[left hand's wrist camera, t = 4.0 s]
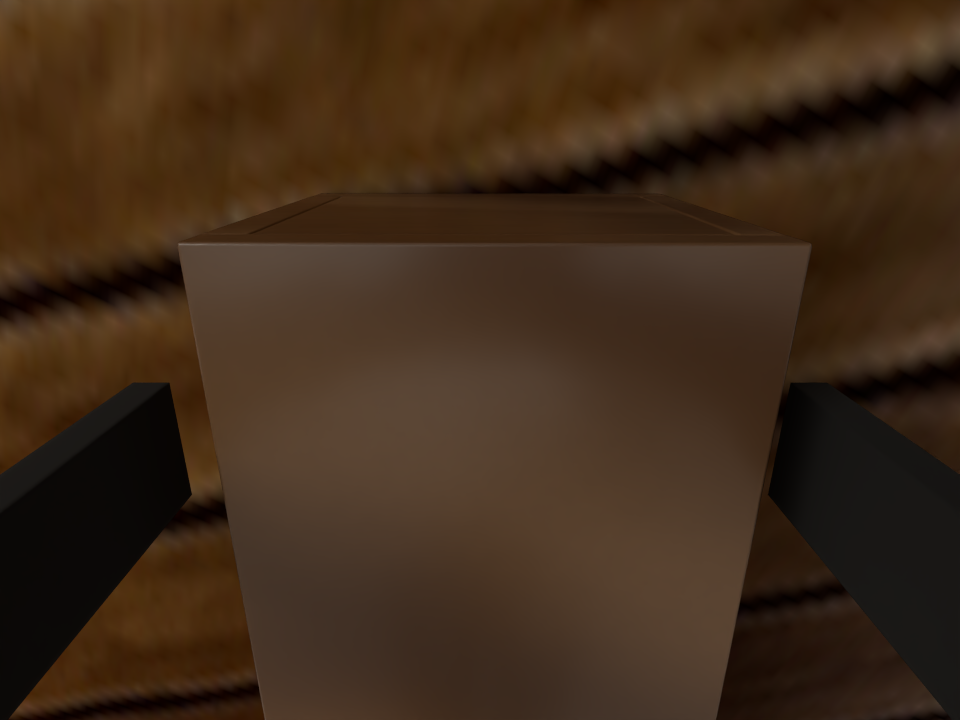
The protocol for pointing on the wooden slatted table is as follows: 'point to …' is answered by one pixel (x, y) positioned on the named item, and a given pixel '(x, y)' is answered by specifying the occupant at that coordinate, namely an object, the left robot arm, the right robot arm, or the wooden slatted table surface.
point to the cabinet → (492, 447)
